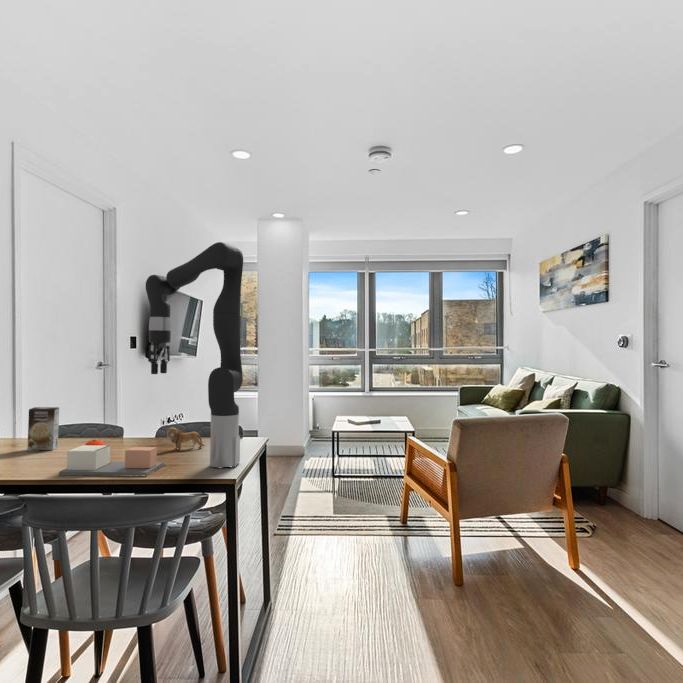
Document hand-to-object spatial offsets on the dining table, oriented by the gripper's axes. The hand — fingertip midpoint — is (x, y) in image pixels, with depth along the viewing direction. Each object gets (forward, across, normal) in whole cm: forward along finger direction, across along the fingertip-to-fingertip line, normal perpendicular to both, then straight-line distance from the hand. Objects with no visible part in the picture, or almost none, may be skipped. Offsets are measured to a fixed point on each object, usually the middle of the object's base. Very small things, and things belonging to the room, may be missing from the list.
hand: (159, 373), depth 176 cm
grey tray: (+30, -22, +6) cm, 38 cm away
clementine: (+30, -6, +20) cm, 37 cm away
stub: (+29, -22, -3) cm, 36 cm away
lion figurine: (+30, +12, -6) cm, 33 cm away
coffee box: (+30, +9, +48) cm, 57 cm away
